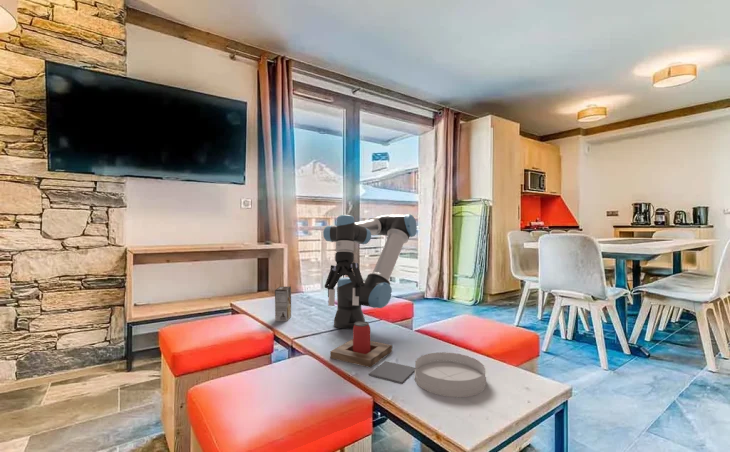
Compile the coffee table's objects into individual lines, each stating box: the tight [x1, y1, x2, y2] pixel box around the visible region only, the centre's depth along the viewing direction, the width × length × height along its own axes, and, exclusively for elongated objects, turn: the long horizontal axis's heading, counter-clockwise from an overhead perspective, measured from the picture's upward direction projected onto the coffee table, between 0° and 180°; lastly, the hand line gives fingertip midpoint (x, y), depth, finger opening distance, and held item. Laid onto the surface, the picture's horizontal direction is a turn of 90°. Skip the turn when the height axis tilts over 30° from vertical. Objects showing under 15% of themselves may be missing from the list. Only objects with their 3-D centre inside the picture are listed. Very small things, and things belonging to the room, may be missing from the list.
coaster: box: [368, 360, 415, 384], centre depth 119 cm, size 12×12×1 cm
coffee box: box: [274, 285, 292, 322], centre depth 183 cm, size 9×6×16 cm
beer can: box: [352, 320, 371, 354], centre depth 134 cm, size 7×7×12 cm
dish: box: [414, 351, 487, 398], centre depth 113 cm, size 22×22×5 cm
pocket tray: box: [329, 338, 393, 368], centre depth 134 cm, size 17×17×2 cm
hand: (343, 305), depth 140 cm, fingers open, 13 cm apart
